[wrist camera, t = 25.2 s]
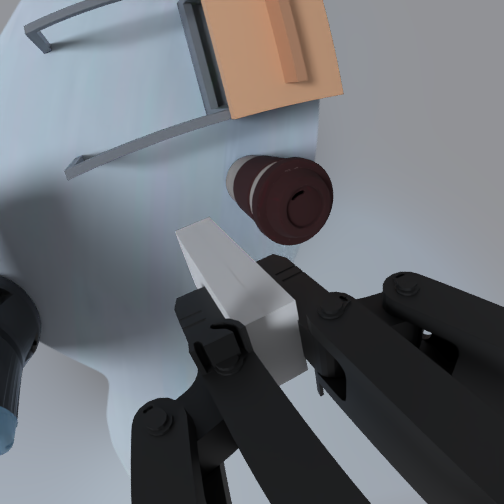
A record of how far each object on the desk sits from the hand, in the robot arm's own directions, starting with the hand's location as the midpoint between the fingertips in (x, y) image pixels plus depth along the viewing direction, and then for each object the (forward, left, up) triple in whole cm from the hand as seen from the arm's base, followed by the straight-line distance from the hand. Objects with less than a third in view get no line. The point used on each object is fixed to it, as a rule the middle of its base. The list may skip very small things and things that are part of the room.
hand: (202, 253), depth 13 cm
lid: (+17, +11, -20) cm, 28 cm away
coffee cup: (+14, -8, -31) cm, 35 cm away
